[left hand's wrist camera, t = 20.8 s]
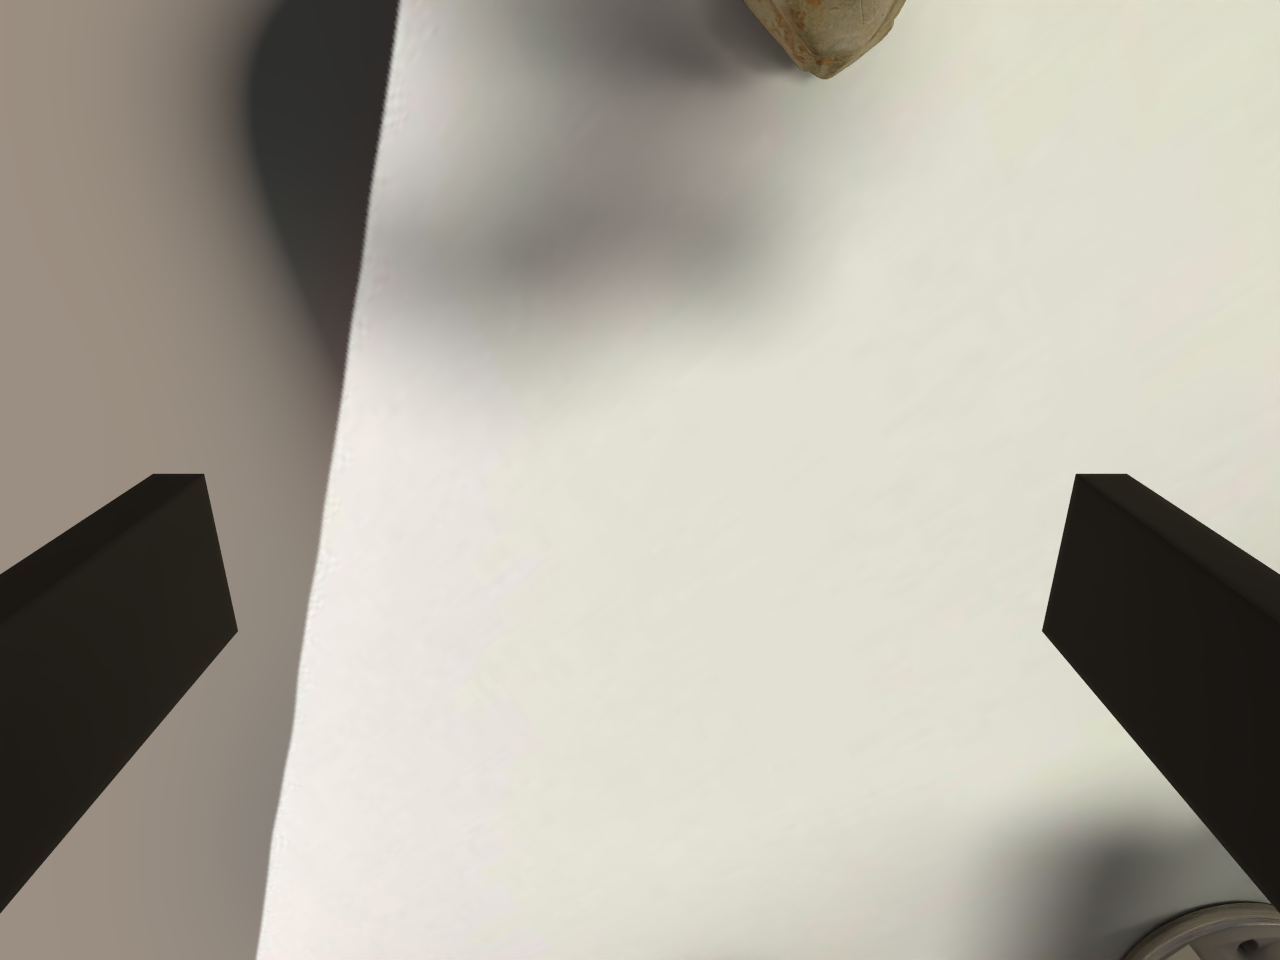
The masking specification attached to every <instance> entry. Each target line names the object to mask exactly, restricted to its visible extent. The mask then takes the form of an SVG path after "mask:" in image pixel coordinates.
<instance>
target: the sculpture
mask: <svg viewBox="0 0 1280 960" xmlns="http://www.w3.org/2000/svg"><path fill="white" fill-rule="evenodd" d="M743 1H744V2H745V4H746V5H747V6H748V8H749V9H750V10H751V11H752V13H753V14H754V15H755V16H756V18H757V19H758V20H759V21H760V23H761V24H762V25H763V26H764V27H765V28H766V29H767V30H768V31H769V33H770V34H771V35H772V36H773V37H774V38H775V39H776V40H777V42H778V43H779V44H780V45H781V46H782V47H783V48H784V50H785V51H786V52H787V54H788V55H789V56H790V57H791V59H792V60H793V61H794V63H795V64H796V65H797V66H798V67H799V68H800V69H802V70H803V71H809V72H811V73H812V74H814V75H815V76H817V77H819V78H821V79H829V78H831V77H833V76H834V75H836V74H837V73H839V72H840V71H842V70H843V69H845V68H846V67H848V66H849V65H851V64H852V63H854V62H855V61H856V60H858V59H859V58H860V57H861V56H863V55H864V54H865V53H866V52H868V51H869V50H870V49H871V48H872V47H874V46H875V45H876V44H877V43H879V42H880V41H881V40H882V39H883V38H884V37H885V36H886V35H887V34H888V32H889V31H890V30H891V29H892V27H893V24H894V19H895V18H896V16H897V15H898V14H899V12H900V10H901V8H902V7H903V5H904V3H905V1H906V0H743Z"/></svg>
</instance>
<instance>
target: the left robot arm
mask: <svg viewBox="0 0 1280 960" xmlns="http://www.w3.org/2000/svg"><path fill="white" fill-rule="evenodd" d="M237 632H238V629H237V624H236V620H235V615H234V611H233V606H232V601H231V597H230V592H229V587H228V583H227V578H226V573H225V569H224V564H223V559H222V555H221V550H220V546H219V541H218V536H217V532H216V527H215V522H214V518H213V513H212V508H211V504H210V499H209V495H208V490H207V485H206V481H205V476H204V474H152V475H151V476H149V477H148V478H146V479H145V480H143V481H142V482H140V483H139V484H137V485H136V486H134V487H133V488H131V489H129V490H128V491H126V492H125V493H123V494H122V495H120V496H119V497H117V498H116V499H114V500H113V501H111V502H110V503H108V504H107V505H105V506H104V507H102V508H101V509H99V510H98V511H96V512H95V513H93V514H91V515H90V516H88V517H87V518H85V519H84V520H82V521H81V522H79V523H78V524H76V525H75V526H73V527H72V528H70V529H69V530H67V531H66V532H64V533H63V534H61V535H60V536H58V537H56V538H55V539H54V540H52V541H50V542H49V543H47V544H46V545H44V546H43V547H41V548H40V549H38V550H37V551H35V552H34V553H32V554H31V555H29V556H28V557H26V558H25V559H23V560H22V561H20V562H19V563H17V564H15V565H14V566H12V567H11V568H9V569H8V570H6V571H5V572H3V573H2V574H0V913H1V912H2V911H3V909H4V908H5V907H6V906H7V905H8V904H9V902H10V901H11V900H12V899H13V898H14V896H15V895H16V894H17V893H18V892H19V890H20V889H21V888H22V887H23V886H24V884H25V883H26V882H27V881H28V880H29V879H30V877H31V876H32V875H33V874H34V873H35V871H36V870H37V869H38V868H39V867H40V865H41V864H42V863H43V862H44V861H45V860H46V858H47V857H48V856H49V855H50V854H51V852H52V851H53V850H54V849H55V848H56V847H57V845H58V844H59V843H60V842H61V841H62V839H63V838H64V837H65V836H66V835H67V833H68V832H69V831H70V830H71V829H72V827H73V826H74V825H75V824H76V823H77V822H78V820H79V819H80V818H81V817H82V816H83V814H84V813H85V812H86V811H87V810H88V809H89V807H90V806H91V805H92V804H93V803H94V801H95V800H96V799H97V798H98V797H99V795H100V794H101V793H102V792H103V791H104V790H105V788H106V787H107V786H108V785H109V784H110V782H111V781H112V780H113V779H114V778H115V776H116V775H117V774H118V773H119V772H120V770H121V769H122V768H123V767H124V766H125V765H126V763H127V762H128V761H129V760H130V759H131V757H132V756H133V755H134V754H135V753H136V751H137V750H138V749H139V748H140V747H141V746H142V744H143V743H144V742H145V741H146V740H147V738H148V737H149V736H150V735H151V734H152V732H153V731H154V730H155V729H156V728H157V727H158V725H159V724H160V723H161V722H162V721H163V719H164V718H165V717H166V716H167V715H168V714H169V712H170V711H171V710H172V709H173V708H174V706H175V705H176V704H177V703H178V702H179V700H180V699H181V698H182V697H183V696H184V695H185V693H186V692H187V691H188V690H189V689H190V687H191V686H192V685H193V684H194V683H195V681H196V680H197V679H198V678H199V677H200V675H201V674H202V673H203V672H204V671H205V670H206V668H207V667H208V666H209V665H210V664H211V662H212V661H213V660H214V659H215V658H216V656H217V655H218V654H219V653H220V652H221V651H222V649H223V648H224V647H225V646H226V645H227V643H228V642H229V641H230V640H231V639H232V637H233V636H234V635H235V634H236V633H237ZM1042 632H1043V633H1044V634H1045V635H1046V636H1047V638H1048V639H1049V640H1050V641H1051V642H1052V643H1053V645H1054V646H1055V647H1056V648H1057V649H1058V651H1059V652H1060V653H1061V654H1062V655H1063V657H1064V658H1065V659H1066V660H1067V661H1068V662H1069V664H1070V665H1071V666H1072V667H1073V668H1074V670H1075V671H1076V672H1077V673H1078V674H1079V676H1080V677H1081V678H1082V679H1083V680H1084V681H1085V683H1086V684H1087V685H1088V686H1089V687H1090V689H1091V690H1092V691H1093V692H1094V693H1095V695H1096V696H1097V697H1098V698H1099V699H1100V700H1101V702H1102V703H1103V704H1104V705H1105V706H1106V708H1107V709H1108V710H1109V711H1110V712H1111V714H1112V715H1113V716H1114V717H1115V718H1116V719H1117V721H1118V722H1119V723H1120V724H1121V725H1122V727H1123V728H1124V729H1125V730H1126V731H1127V733H1128V734H1129V735H1130V736H1131V737H1132V738H1133V740H1134V741H1135V742H1136V743H1137V744H1138V746H1139V747H1140V748H1141V749H1142V750H1143V752H1144V753H1145V754H1146V755H1147V756H1148V757H1149V759H1150V760H1151V761H1152V762H1153V763H1154V765H1155V766H1156V767H1157V768H1158V769H1159V771H1160V772H1161V773H1162V774H1163V775H1164V776H1165V778H1166V779H1167V780H1168V781H1169V782H1170V784H1171V785H1172V786H1173V787H1174V788H1175V790H1176V791H1177V792H1178V793H1179V794H1180V795H1181V797H1182V798H1183V799H1184V800H1185V801H1186V803H1187V804H1188V805H1189V806H1190V807H1191V809H1192V810H1193V811H1194V812H1195V813H1196V814H1197V816H1198V817H1199V818H1200V819H1201V820H1202V822H1203V823H1204V824H1205V825H1206V826H1207V828H1208V829H1209V830H1210V831H1211V832H1212V833H1213V835H1214V836H1215V837H1216V838H1217V839H1218V841H1219V842H1220V843H1221V844H1222V845H1223V847H1224V848H1225V849H1226V850H1227V851H1228V852H1229V854H1230V855H1231V856H1232V857H1233V858H1234V860H1235V861H1236V862H1237V863H1238V864H1239V866H1240V867H1241V868H1242V869H1243V870H1244V871H1245V873H1246V874H1247V875H1248V876H1249V877H1250V879H1251V880H1252V881H1253V882H1254V883H1255V885H1256V886H1257V887H1258V888H1259V889H1260V890H1261V892H1262V893H1263V894H1264V895H1265V896H1266V898H1267V899H1268V900H1269V901H1270V902H1271V904H1272V905H1273V906H1274V907H1275V908H1276V909H1277V911H1278V912H1279V913H1280V574H1278V573H1277V572H1275V571H1274V570H1272V569H1271V568H1269V567H1268V566H1266V565H1265V564H1263V563H1262V562H1260V561H1258V560H1257V559H1255V558H1254V557H1252V556H1251V555H1249V554H1248V553H1246V552H1245V551H1243V550H1242V549H1240V548H1239V547H1237V546H1236V545H1234V544H1233V543H1231V542H1230V541H1228V540H1227V539H1225V538H1224V537H1222V536H1220V535H1219V534H1217V533H1216V532H1214V531H1213V530H1211V529H1210V528H1208V527H1207V526H1205V525H1204V524H1202V523H1201V522H1199V521H1198V520H1196V519H1195V518H1193V517H1192V516H1190V515H1189V514H1187V513H1186V512H1184V511H1182V510H1181V509H1179V508H1178V507H1176V506H1175V505H1173V504H1172V503H1170V502H1169V501H1167V500H1166V499H1164V498H1163V497H1161V496H1160V495H1158V494H1157V493H1155V492H1154V491H1152V490H1151V489H1149V488H1148V487H1146V486H1144V485H1143V484H1141V483H1140V482H1138V481H1137V480H1135V479H1134V478H1132V477H1131V476H1129V475H1128V474H1076V476H1075V481H1074V485H1073V490H1072V495H1071V499H1070V504H1069V508H1068V513H1067V518H1066V522H1065V527H1064V532H1063V536H1062V541H1061V546H1060V550H1059V555H1058V559H1057V564H1056V569H1055V573H1054V578H1053V583H1052V587H1051V592H1050V597H1049V601H1048V606H1047V611H1046V615H1045V620H1044V624H1043V629H1042Z"/></svg>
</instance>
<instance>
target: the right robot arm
mask: <svg viewBox="0 0 1280 960" xmlns="http://www.w3.org/2000/svg"><path fill="white" fill-rule="evenodd" d="M1124 960H1280V913H1279V912H1278V911H1277V909H1276V908H1275V907H1274V906H1273V905H1269V904H1260V903H1234V904H1225V905H1219V906H1214V907H1209V908H1205V909H1201V910H1198V911H1195V912H1192V913H1189V914H1186V915H1184V916H1181V917H1179V918H1177V919H1175V920H1172V921H1170V922H1169V923H1167V924H1165V925H1163V926H1161V927H1160V928H1158V929H1156V930H1155V931H1153V932H1152V933H1150V934H1149V935H1148V936H1146V937H1145V938H1144V939H1143V940H1142V941H1140V942H1139V943H1138V944H1137V945H1136V946H1135V947H1134V948H1133V949H1132V950H1131V951H1130V952H1129V953H1128V955H1127V956H1126V957H1125V958H1124Z"/></svg>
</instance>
